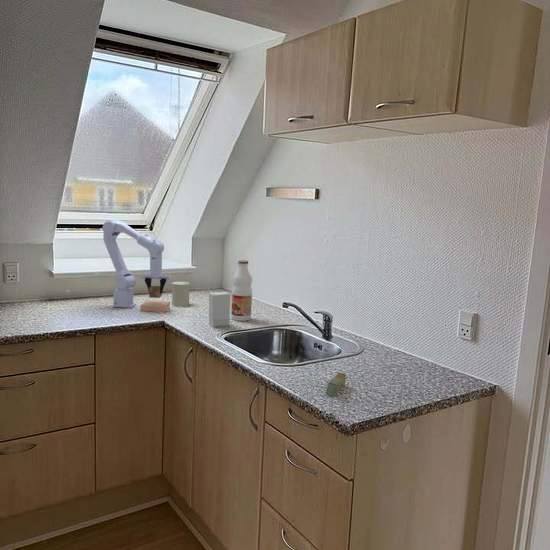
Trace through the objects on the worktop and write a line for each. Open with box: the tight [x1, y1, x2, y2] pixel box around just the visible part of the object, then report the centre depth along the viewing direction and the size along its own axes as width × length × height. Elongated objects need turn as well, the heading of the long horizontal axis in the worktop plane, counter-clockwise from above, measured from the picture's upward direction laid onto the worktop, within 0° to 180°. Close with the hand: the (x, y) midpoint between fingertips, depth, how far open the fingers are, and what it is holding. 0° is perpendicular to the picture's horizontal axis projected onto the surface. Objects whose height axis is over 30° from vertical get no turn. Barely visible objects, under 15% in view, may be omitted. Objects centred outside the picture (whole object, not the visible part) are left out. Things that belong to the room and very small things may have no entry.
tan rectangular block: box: [139, 300, 171, 313], centre depth 261 cm, size 12×12×3 cm
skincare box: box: [208, 291, 231, 328], centre depth 234 cm, size 8×6×15 cm
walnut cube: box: [148, 285, 163, 299], centre depth 260 cm, size 5×5×5 cm
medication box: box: [326, 372, 347, 398], centre depth 161 cm, size 12×3×4 cm, turn 158°
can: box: [171, 281, 191, 307], centre depth 275 cm, size 9×9×12 cm
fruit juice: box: [230, 259, 253, 322], centre depth 247 cm, size 9×9×28 cm
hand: (155, 293), depth 261 cm, fingers closed on walnut cube, 5 cm apart
